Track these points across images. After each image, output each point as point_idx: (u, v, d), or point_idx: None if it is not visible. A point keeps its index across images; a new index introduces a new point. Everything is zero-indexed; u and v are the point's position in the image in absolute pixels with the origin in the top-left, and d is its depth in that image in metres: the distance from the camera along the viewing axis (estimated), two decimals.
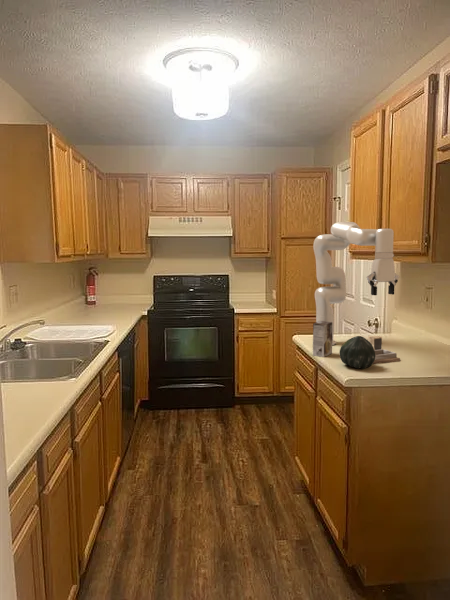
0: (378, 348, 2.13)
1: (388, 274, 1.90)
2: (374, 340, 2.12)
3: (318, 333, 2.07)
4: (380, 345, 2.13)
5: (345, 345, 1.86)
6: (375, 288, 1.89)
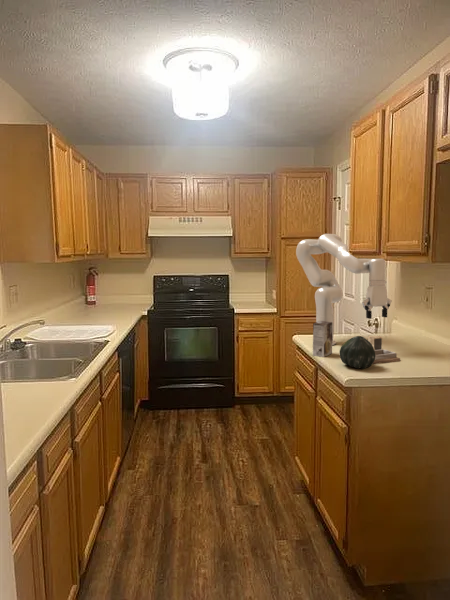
0: (378, 348, 2.13)
1: (381, 299, 2.10)
2: (374, 340, 2.12)
3: (318, 333, 2.07)
4: (380, 345, 2.13)
5: (345, 345, 1.86)
6: (370, 312, 2.10)
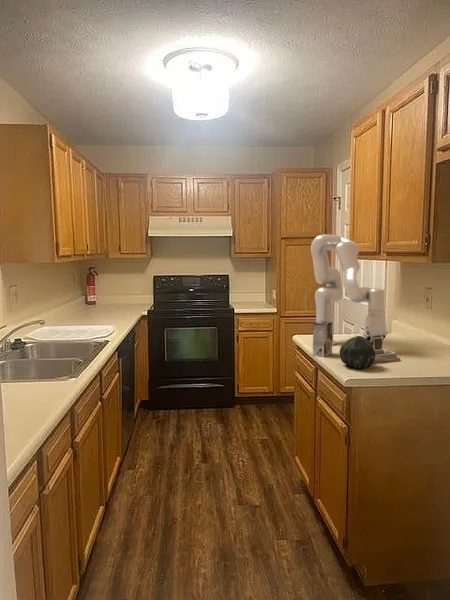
0: (378, 348, 2.13)
1: (380, 329, 2.12)
2: (374, 340, 2.12)
3: (318, 333, 2.07)
4: (380, 345, 2.13)
5: (345, 345, 1.86)
6: (371, 343, 2.13)
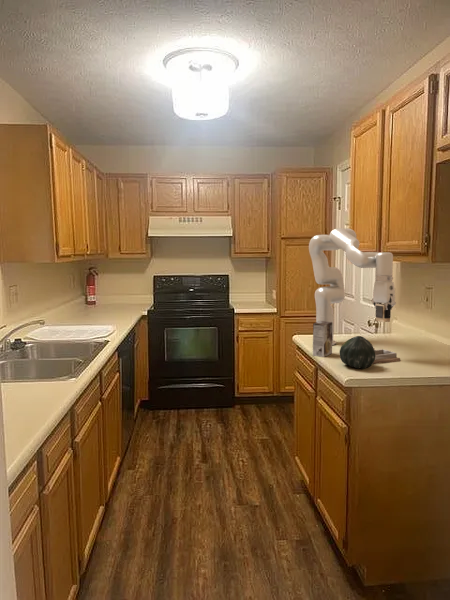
0: (379, 316, 2.00)
1: (380, 296, 1.98)
2: (376, 306, 2.01)
3: (318, 333, 2.07)
4: (381, 313, 1.98)
5: (345, 345, 1.86)
6: None
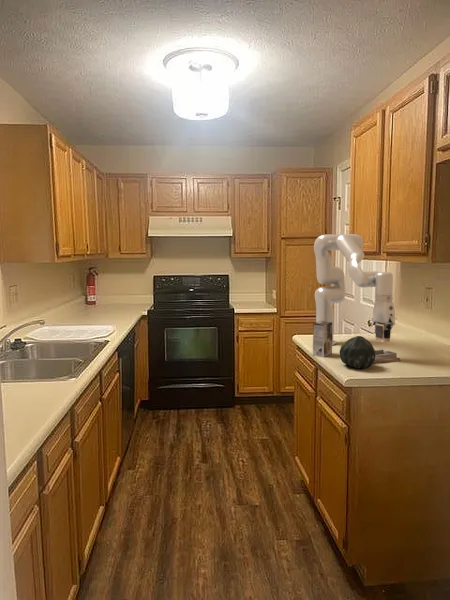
0: (379, 336, 2.00)
1: (380, 316, 1.98)
2: (376, 326, 2.02)
3: (318, 333, 2.07)
4: (380, 333, 1.98)
5: (345, 345, 1.86)
6: None
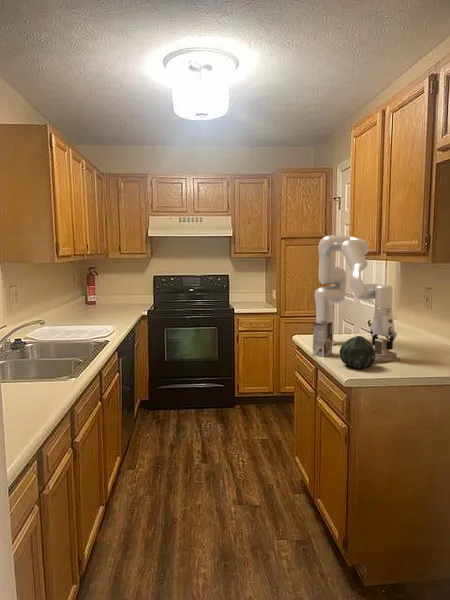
0: (377, 351, 2.01)
1: (379, 328, 1.99)
2: (375, 341, 2.03)
3: (318, 333, 2.07)
4: (379, 349, 2.00)
5: (345, 345, 1.86)
6: None
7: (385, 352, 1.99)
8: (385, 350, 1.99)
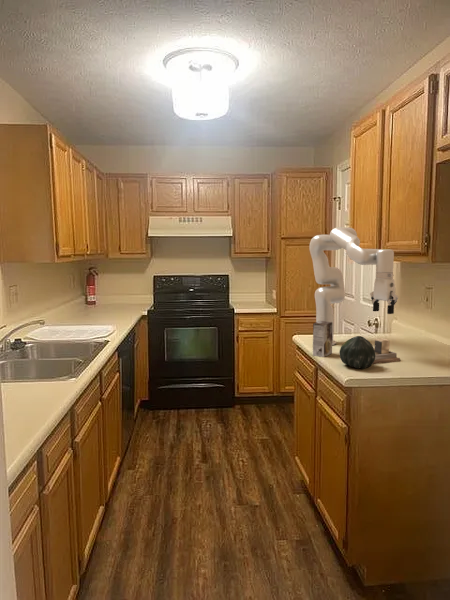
0: (377, 351, 2.01)
1: (380, 293, 1.97)
2: (375, 341, 2.03)
3: (318, 333, 2.07)
4: (379, 349, 2.00)
5: (345, 345, 1.86)
6: None
7: (385, 352, 1.99)
8: (385, 350, 1.99)
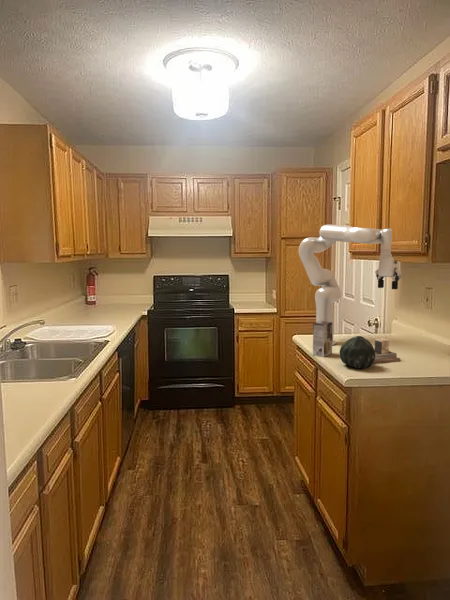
0: (377, 351, 2.01)
1: (385, 270, 2.09)
2: (375, 341, 2.03)
3: (318, 333, 2.07)
4: (379, 349, 2.00)
5: (345, 345, 1.86)
6: None
7: (385, 352, 1.99)
8: (385, 350, 1.99)
